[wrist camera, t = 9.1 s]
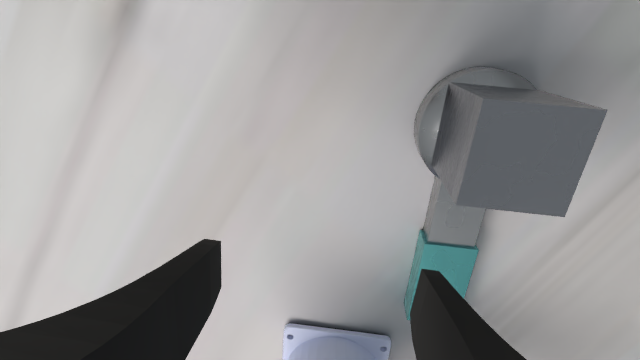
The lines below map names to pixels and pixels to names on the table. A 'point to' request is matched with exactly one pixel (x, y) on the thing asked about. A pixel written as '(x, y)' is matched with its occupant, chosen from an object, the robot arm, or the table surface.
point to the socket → (513, 147)
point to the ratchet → (443, 215)
